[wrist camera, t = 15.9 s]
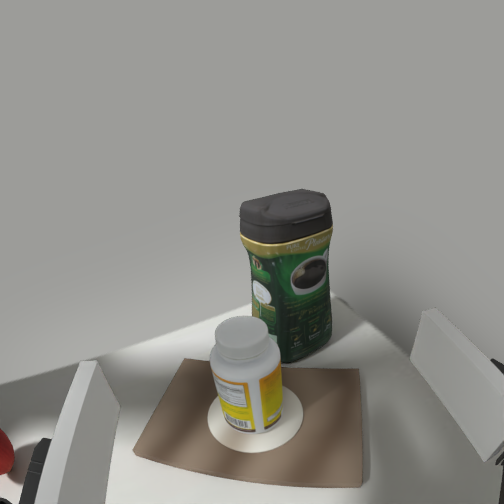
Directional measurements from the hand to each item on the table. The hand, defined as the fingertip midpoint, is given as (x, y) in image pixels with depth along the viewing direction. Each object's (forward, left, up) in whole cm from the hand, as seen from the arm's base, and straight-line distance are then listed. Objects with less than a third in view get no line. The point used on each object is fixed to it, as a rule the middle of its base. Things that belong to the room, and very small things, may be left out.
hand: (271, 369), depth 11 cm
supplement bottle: (-4, +9, -16) cm, 19 cm away
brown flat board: (-4, +9, -17) cm, 20 cm away
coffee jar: (-2, +22, -17) cm, 28 cm away
